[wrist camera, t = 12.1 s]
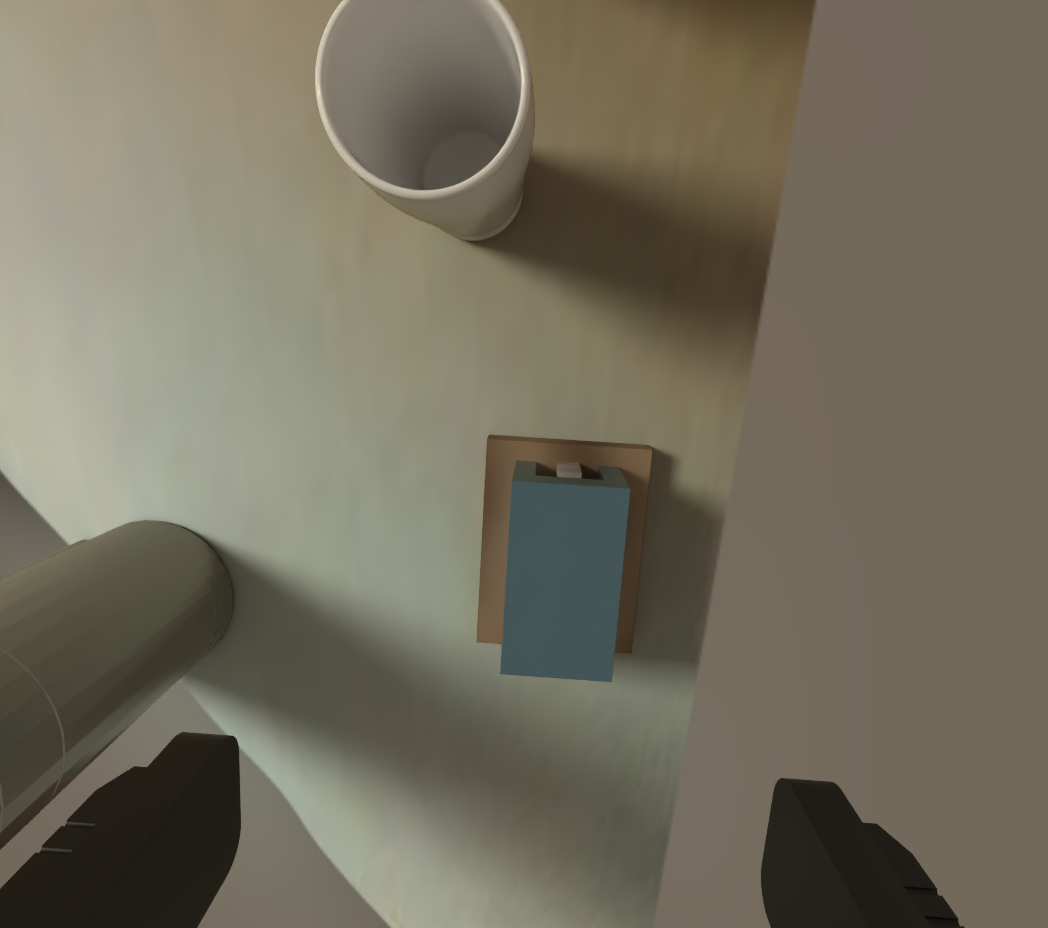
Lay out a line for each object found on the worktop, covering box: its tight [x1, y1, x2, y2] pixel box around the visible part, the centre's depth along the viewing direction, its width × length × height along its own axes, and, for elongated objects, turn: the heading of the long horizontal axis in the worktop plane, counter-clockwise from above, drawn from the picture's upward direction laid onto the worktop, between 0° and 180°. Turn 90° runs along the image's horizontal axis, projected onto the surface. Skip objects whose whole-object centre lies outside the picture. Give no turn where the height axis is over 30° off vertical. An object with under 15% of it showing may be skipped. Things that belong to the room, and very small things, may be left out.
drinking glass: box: [315, 0, 535, 241], centre depth 27 cm, size 7×7×15 cm
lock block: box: [500, 460, 630, 682], centre depth 34 cm, size 10×6×5 cm, turn 176°
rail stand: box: [477, 435, 652, 653], centre depth 36 cm, size 9×12×4 cm
